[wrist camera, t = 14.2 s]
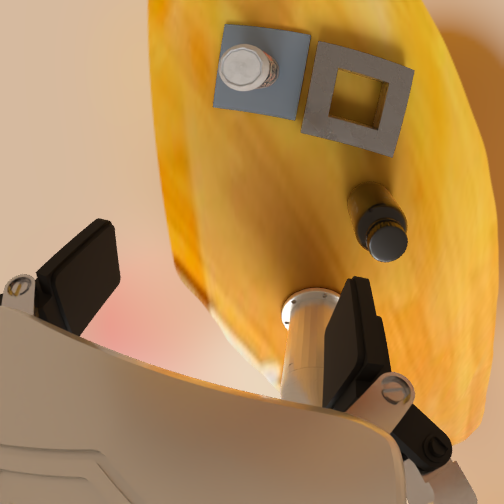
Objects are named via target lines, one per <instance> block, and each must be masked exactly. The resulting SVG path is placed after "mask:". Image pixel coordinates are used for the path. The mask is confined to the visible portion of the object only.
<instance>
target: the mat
mask: <svg viewBox="0 0 504 504" xmlns="http://www.w3.org/2000/svg"><path fill="white" fill-rule="evenodd" d="M310 39H311V35H307V34H302V33H297V32H291V31H285V30H278V29H271V28H263V27H254V26H243V25H230V24H225V27H224V33H223V39H222V45H221V52H220V58H219V61H220V59H221V57H222V55H223V54H224V53H225V52H226V51H227V50H228V49H230V48H231V47H233V46H236V45H240V44H248V45H253V46H256V47H257V48H259V49H261V50H262V51H264V52H265V53H267V54H268V55H270V56H271V57H272V58H274V59H275V61H276V62H277V64H278V66H279V75H278V78H277V80H276V81H275V82H274V83H273V84H272V85H271V86H269V87H266V88H258V89H253V90H249V91H237V90H234V89H232V88H230V87H228V86H227V85H226V84H225V83H224V82H223V81H222V79H221V77H220V75H219V69H218V72H217V79H216V87H215V94H214V102H213V107H215V108H223V109H231V110H238V111H245V112H251V113H257V114H263V115H269V116H274V117H279V118H285V119H289V120H294V121H295V118H296V113H297V108H298V103H299V98H300V92H301V87H302V82H303V77H304V71H305V66H306V61H307V55H308V50H309V44H310ZM218 66H219V65H218Z"/></svg>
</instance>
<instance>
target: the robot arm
mask: <svg viewBox="0 0 504 504" xmlns="http://www.w3.org/2000/svg"><path fill="white" fill-rule="evenodd" d="M36 274H37V277H38V278H37V279H36V280H34V278H33V277H32V276H30V275H27V274H24V275H18V276H16V277H14V278H12V279H11V280H10V281H9V282H8V283H7V284H6V285H5V288H4V293H3V294H0V504H406V498H407V500H408V503H409V504H477V498H476V495H475V493H474V491H473V490H472V488H471V486H470V484H469V482H468V480H467V479H466V477H465V475H464V474H463V472H462V470H461V468H460V467H459V465H458V463H457V461H454V462H452V460H451V458H450V457H451V454H452V444H451V442H450V439H449V438H448V436H447V435H446V434H445V433H444V432H443V431H442V430H441V429H440V428H438V427H437V426H436V425H435V424H434V423H433V422H432V421H431V420H430V419H429V418H428V417H427V416H426V415H424V414H423V413H422V412H421V411H420V410H419V409H418V408H417V407H416V406H415V405H414V404H413V401H414V398H415V392H414V388H413V386H412V384H411V382H410V381H409V380H408V379H407V378H406V377H404V376H403V375H401V374H399V373H395V372H391V366H390V360H389V354H388V348H387V342H386V337H385V332H384V326H383V321H382V318H381V317H380V316H376V311H375V306H374V301H373V296H372V291H371V287H370V282H369V279H366V278H362V277H357V276H354V277H353V278H352V279H347V281H346V283H345V286H344V288H343V290H342V293H341V295H340V294H338V293H336V292H334V291H332V290H329V289H325V288H309V289H304V290H301V291H298V292H296V293H295V294H293V295H292V296H290V297H289V298H288V299H287V300H286V302H285V303H284V305H283V308H282V314H281V318H282V322H283V324H284V326H285V327H286V328H287V330H288V336H287V344H286V352H285V359H284V367H283V374H282V381H281V389H280V394H281V399H277V398H272V397H268V396H263V395H259V394H253V393H249V392H245V391H240V390H237V389H233V388H229V387H225V386H221V385H217V384H213V383H209V382H206V381H202V380H199V379H196V378H192V377H189V376H185V375H182V374H179V373H175V372H172V371H169V370H166V369H163V368H160V367H157V366H154V365H151V364H148V363H145V362H142V361H140V360H137V359H134V358H131V357H129V356H126V355H123V354H121V353H118V352H116V351H113V350H110V349H108V348H105V347H103V346H100V345H98V344H95V343H93V342H91V341H88V340H86V339H84V338H81V337H79V336H80V335H81V333H82V332H83V331H84V329H85V328H86V327H87V325H88V324H89V322H90V321H91V320H92V318H93V317H94V316H95V315H96V313H97V312H98V311H99V309H100V308H101V307H102V305H103V304H104V303H105V301H106V300H107V299H108V298H109V296H110V295H111V294H112V292H113V291H114V290H115V289H116V287H117V286H118V285H119V283H120V271H119V263H118V255H117V246H116V237H115V228H114V226H113V225H112V223H111V222H110V221H108V220H104V219H99V218H98V219H96V220H95V221H94V222H92V223H91V224H90V225H89V226H87V227H86V228H85V229H84V230H83V231H81V232H80V233H79V234H78V235H77V236H75V237H74V238H73V239H72V240H71V241H70V242H69V243H67V244H66V245H65V246H64V247H63V248H62V249H61V250H59V251H58V252H57V253H56V254H55V255H54V256H53V257H52V258H51V259H50V260H48V262H46V263H45V264H44V265H43V266H42V267H41V268H40V269H39V270H38V271H37V272H36Z"/></svg>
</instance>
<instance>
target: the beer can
mask: <svg viewBox="0 0 504 504" xmlns="http://www.w3.org/2000/svg"><path fill="white" fill-rule="evenodd" d="M218 69H219V75H220V77H221V79H222V81H223V82H224V83H225V84H226V85H227V86H228V87H230V88H232V89H234V90H237V91H249V90H253V89H258V88H266V87H269V86H271V85H272V84H273V83H274V82H275V81H276V80H277V78H278V75H279V66H278V64H277V62H276V61H275V59H274V58H272V57H271V56H270V55H268V54H267V53H265V52H264V51H262V50H261V49H259V48H257V47H256V46H253V45H248V44H240V45H236V46H233V47H231V48H230V49H228V50H227V51H226V52H225V53H224V54H223V55H222V57H221V59H220V61H219V66H218Z"/></svg>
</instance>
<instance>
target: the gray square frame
mask: <svg viewBox="0 0 504 504" xmlns="http://www.w3.org/2000/svg"><path fill="white" fill-rule="evenodd" d="M338 70H342V71H346V72H350V73H353V74H357V75H360V76H364V77H367V78H370V79H373V80H376V81H379V82H382V88H381V92H380V96H379V101H378V105H377V109H376V113H375V117H374V121H373V125H372V126H369V125H366V124H363V123H359V122H356V121H352V120H349V119H345V118H341V117H337V116H334V115H330V114H329V109H330V105H331V100H332V95H333V91H334V86H335V81H336V76H337V71H338ZM413 75H414V70H412V69H410V68H407V67H405V66H402V65H399V64H396V63H394V62H391V61H388V60H385V59H382V58H379V57H376V56H373V55H370V54H367V53H363V52H360V51H356V50H353V49H349V48H346V47H342V46H338V45H334V44H330V43H325V42H321V41H318V45H317V50H316V55H315V61H314V66H313V71H312V77H311V82H310V87H309V92H308V97H307V102H306V107H305V112H304V117H303V122H302V127H301V133H304V134H308V135H313V136H317V137H321V138H325V139H329V140H333V141H337V142H341V143H344V144H348V145H352V146H355V147H359V148H362V149H366V150H369V151H373V152H376V153H379V154H382V155H385V156H389V157H392V158H393V154H394V151H395V147H396V144H397V140H398V137H399V133H400V129H401V126H402V122H403V118H404V114H405V110H406V106H407V102H408V98H409V94H410V89H411V85H412V80H413Z"/></svg>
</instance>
